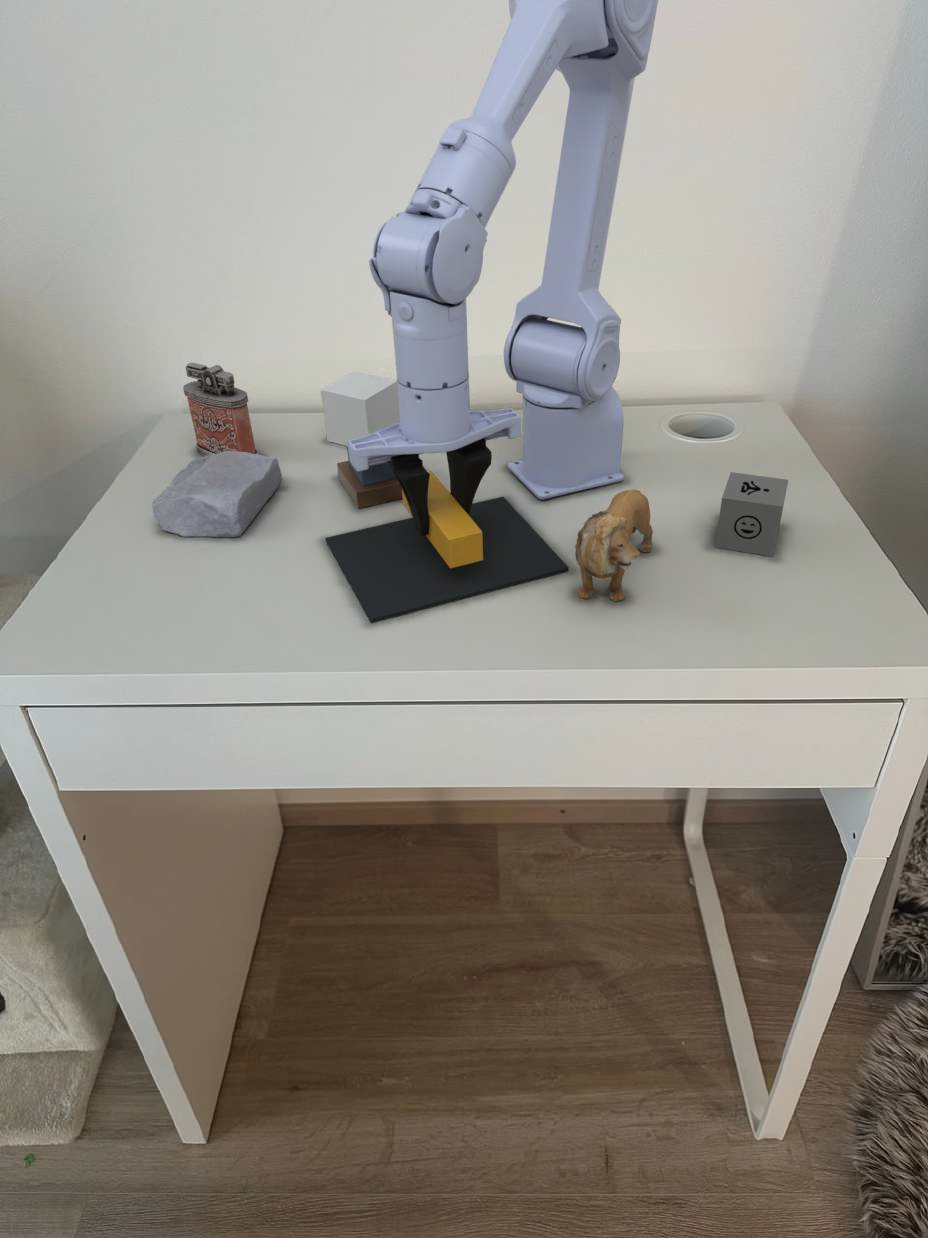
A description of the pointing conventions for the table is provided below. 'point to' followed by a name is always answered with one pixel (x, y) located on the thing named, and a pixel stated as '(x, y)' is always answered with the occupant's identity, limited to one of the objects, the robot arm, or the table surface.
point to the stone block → (217, 494)
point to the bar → (450, 527)
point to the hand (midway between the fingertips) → (441, 525)
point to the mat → (440, 562)
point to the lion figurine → (613, 542)
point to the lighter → (218, 411)
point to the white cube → (359, 406)
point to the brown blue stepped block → (369, 483)
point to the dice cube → (751, 513)
